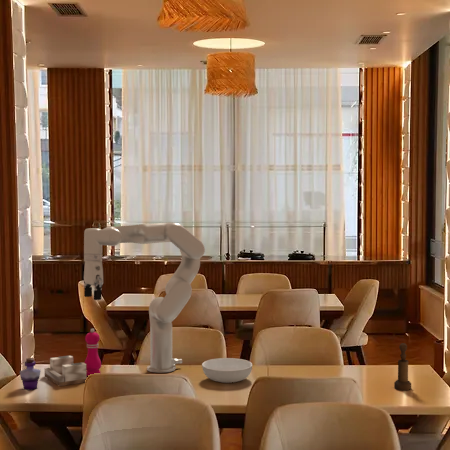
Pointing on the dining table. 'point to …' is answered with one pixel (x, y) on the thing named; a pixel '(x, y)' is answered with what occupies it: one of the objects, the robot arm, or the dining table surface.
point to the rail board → (65, 371)
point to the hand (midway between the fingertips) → (92, 298)
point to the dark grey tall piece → (402, 371)
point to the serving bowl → (227, 369)
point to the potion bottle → (30, 375)
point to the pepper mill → (92, 353)
